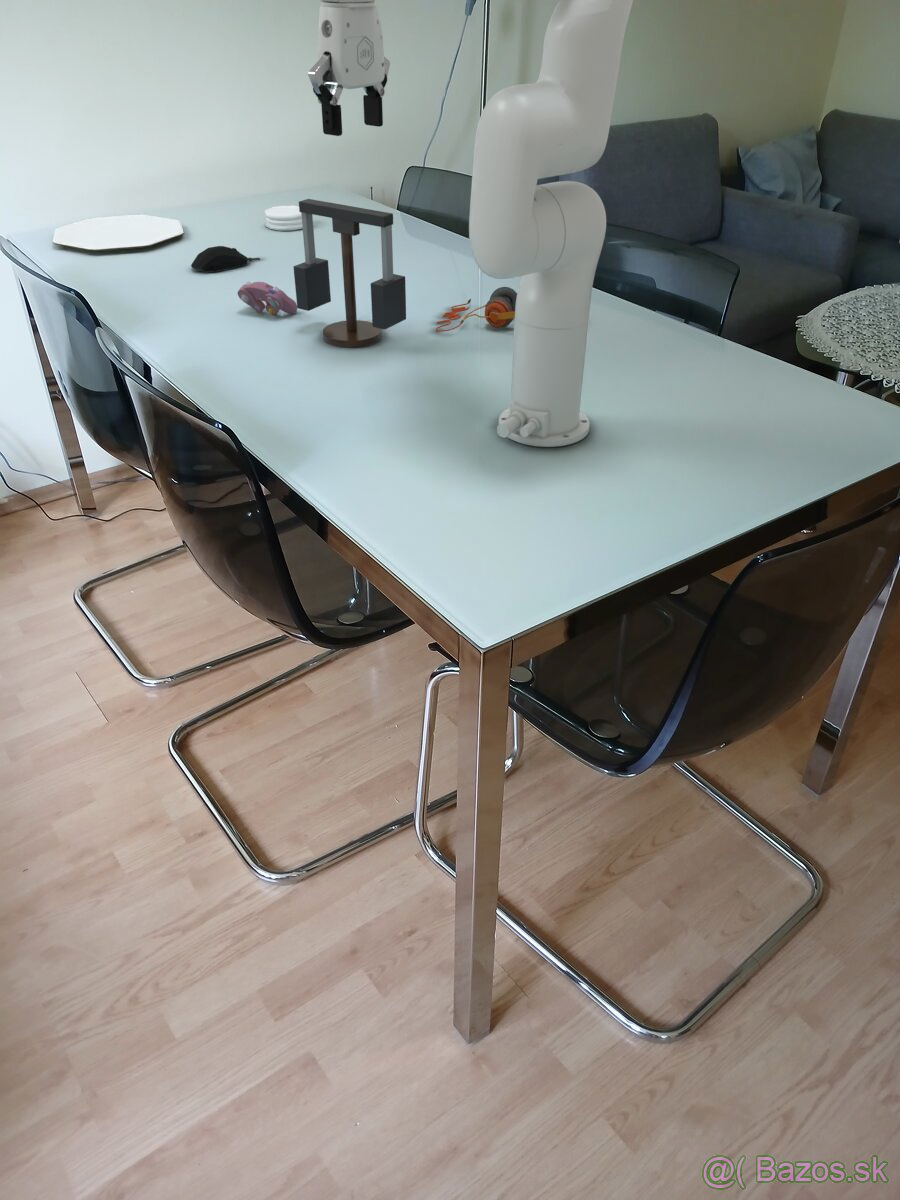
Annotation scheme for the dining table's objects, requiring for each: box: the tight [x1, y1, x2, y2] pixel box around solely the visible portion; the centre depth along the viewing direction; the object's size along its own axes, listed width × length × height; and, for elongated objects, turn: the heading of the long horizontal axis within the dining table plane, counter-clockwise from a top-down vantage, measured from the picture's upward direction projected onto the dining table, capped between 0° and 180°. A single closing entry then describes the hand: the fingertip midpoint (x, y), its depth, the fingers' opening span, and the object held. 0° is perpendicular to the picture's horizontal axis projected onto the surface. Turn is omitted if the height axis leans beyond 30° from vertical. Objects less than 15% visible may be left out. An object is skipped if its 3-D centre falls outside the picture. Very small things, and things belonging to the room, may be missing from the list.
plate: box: [52, 214, 185, 252], centre depth 204 cm, size 28×28×2 cm
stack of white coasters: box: [264, 205, 303, 232], centre depth 213 cm, size 10×10×4 cm
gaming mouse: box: [190, 245, 261, 273], centre depth 187 cm, size 6×15×4 cm, turn 127°
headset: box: [293, 198, 407, 330], centre depth 148 cm, size 6×18×17 cm, turn 57°
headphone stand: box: [321, 218, 383, 349], centre depth 149 cm, size 10×10×19 cm
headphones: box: [435, 286, 518, 333], centre depth 160 cm, size 17×5×20 cm
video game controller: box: [237, 281, 298, 317], centre depth 163 cm, size 10×5×7 cm, turn 62°
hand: (353, 130), depth 137 cm, fingers open, 9 cm apart
